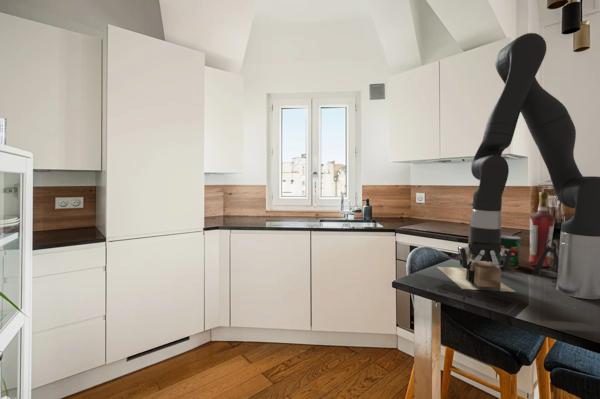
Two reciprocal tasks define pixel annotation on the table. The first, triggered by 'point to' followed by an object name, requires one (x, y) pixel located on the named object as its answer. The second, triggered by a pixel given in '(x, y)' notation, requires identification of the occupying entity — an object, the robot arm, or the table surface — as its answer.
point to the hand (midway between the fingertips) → (482, 283)
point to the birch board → (460, 278)
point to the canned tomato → (511, 249)
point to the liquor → (540, 231)
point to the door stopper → (541, 260)
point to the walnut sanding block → (486, 276)
